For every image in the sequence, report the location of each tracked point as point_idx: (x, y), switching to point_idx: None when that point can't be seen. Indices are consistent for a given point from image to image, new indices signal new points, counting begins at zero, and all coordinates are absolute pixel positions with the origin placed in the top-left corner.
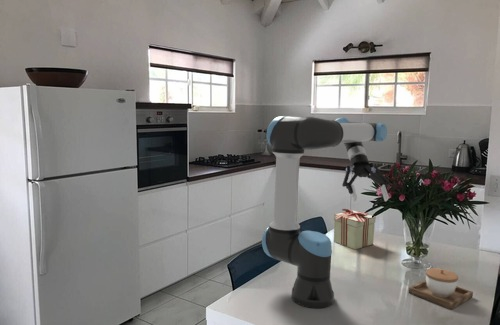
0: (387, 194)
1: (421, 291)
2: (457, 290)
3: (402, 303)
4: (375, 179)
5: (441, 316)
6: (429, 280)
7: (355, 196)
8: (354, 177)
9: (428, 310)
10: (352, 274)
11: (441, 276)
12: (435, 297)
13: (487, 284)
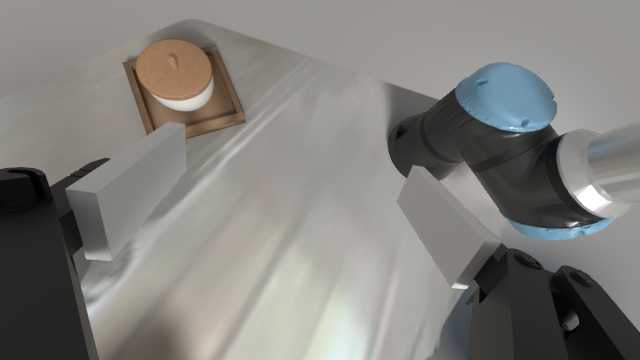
0: (157, 133)
1: (233, 96)
2: (140, 89)
3: (285, 95)
4: (90, 350)
5: (252, 47)
6: (212, 79)
7: (427, 171)
8: (535, 349)
9: (258, 66)
10: (308, 227)
11: (191, 55)
12: (225, 71)
13: (9, 102)
